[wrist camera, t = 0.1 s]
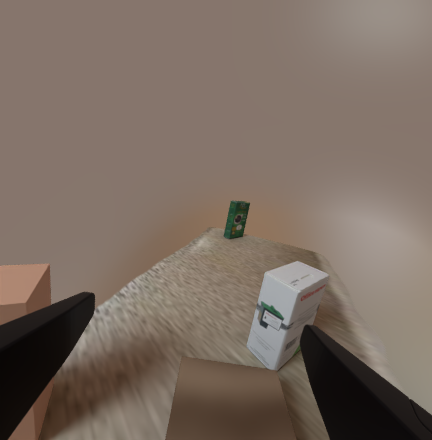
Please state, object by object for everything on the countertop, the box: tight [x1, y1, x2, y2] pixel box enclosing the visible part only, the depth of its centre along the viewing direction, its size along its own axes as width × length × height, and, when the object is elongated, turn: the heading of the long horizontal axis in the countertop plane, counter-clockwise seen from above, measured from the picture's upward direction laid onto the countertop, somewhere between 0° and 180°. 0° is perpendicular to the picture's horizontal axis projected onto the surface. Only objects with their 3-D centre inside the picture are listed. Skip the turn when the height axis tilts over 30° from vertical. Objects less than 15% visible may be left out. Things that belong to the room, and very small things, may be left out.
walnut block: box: [165, 356, 297, 440], centre depth 17 cm, size 10×10×4 cm
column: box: [0, 264, 54, 440], centre depth 15 cm, size 5×5×13 cm
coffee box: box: [224, 201, 250, 239], centre depth 73 cm, size 8×3×13 cm, turn 133°
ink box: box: [247, 261, 329, 371], centre depth 28 cm, size 9×5×12 cm, turn 130°
